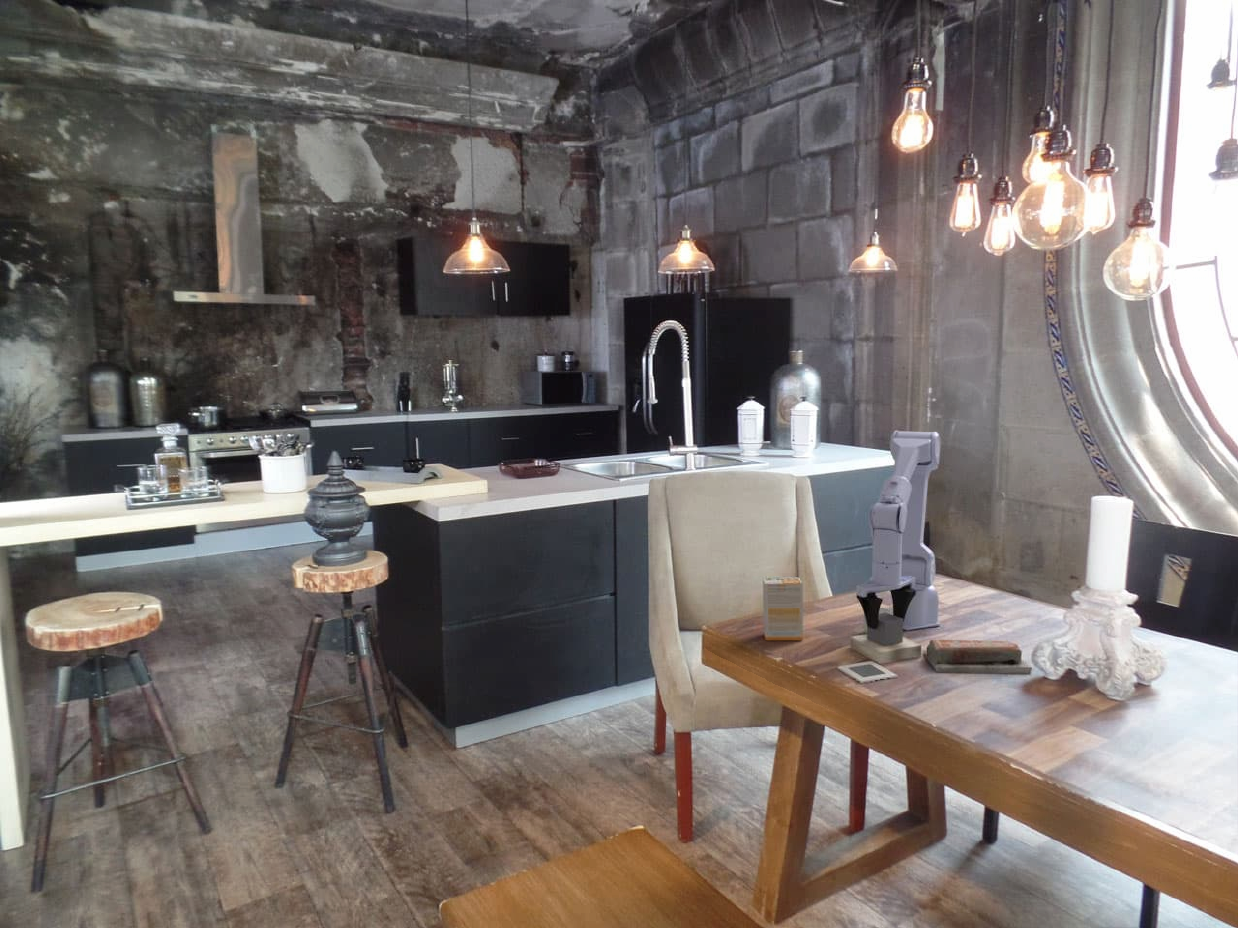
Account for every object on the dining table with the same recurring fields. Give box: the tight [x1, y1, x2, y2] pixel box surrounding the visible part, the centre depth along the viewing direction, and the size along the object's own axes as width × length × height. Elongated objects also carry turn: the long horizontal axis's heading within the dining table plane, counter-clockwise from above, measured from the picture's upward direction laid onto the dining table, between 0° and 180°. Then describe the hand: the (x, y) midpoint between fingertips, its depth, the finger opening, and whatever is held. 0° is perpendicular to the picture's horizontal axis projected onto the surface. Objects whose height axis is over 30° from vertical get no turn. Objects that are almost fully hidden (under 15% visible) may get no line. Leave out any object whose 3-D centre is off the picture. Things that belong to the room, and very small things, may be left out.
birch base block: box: [849, 633, 922, 665], centre depth 174 cm, size 10×10×3 cm
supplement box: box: [762, 577, 804, 641], centre depth 183 cm, size 8×5×13 cm, turn 84°
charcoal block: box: [866, 613, 904, 646], centre depth 173 cm, size 5×5×5 cm
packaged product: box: [923, 638, 1033, 674], centre depth 167 cm, size 18×5×10 cm
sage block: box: [863, 607, 893, 634], centre depth 185 cm, size 5×5×5 cm
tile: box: [837, 660, 898, 684], centre depth 163 cm, size 8×8×1 cm
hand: (885, 624), depth 173 cm, fingers open, 7 cm apart
